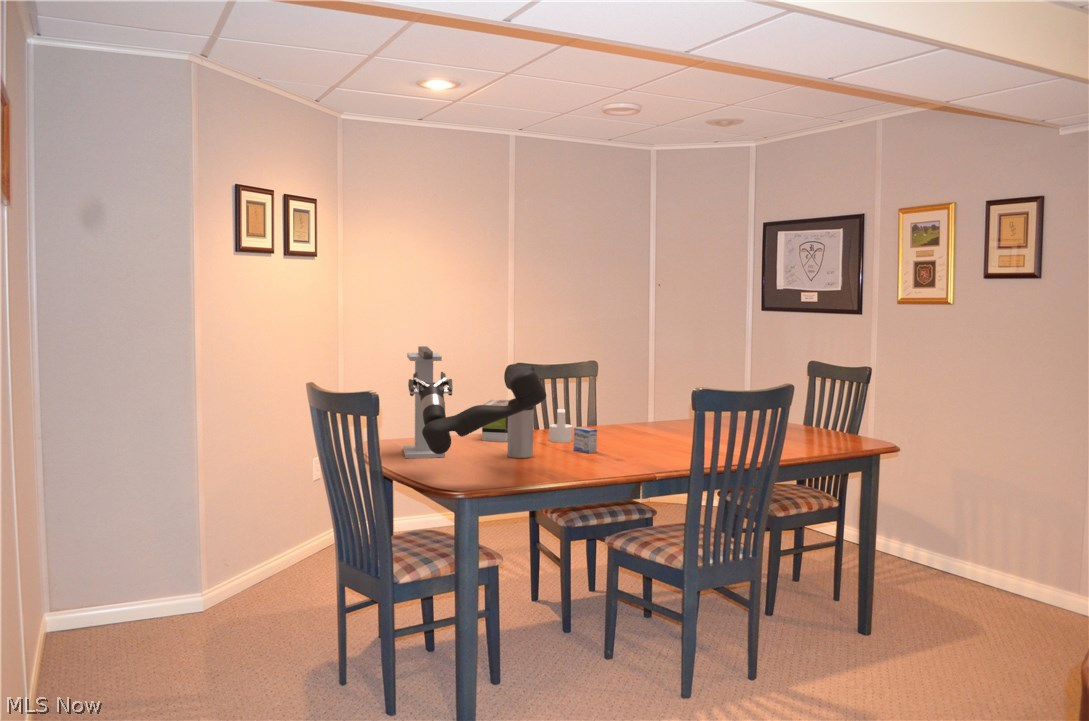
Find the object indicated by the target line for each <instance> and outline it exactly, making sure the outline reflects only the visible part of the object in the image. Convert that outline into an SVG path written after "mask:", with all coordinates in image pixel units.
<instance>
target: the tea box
mask: <svg viewBox="0 0 1089 721" xmlns="http://www.w3.org/2000/svg"><path fill="white" fill-rule="evenodd" d="M510 400H511V399H491V400H489V401H487V402H485V403H484V404H482V405H490V406H508V402H509V401H510ZM481 437H482V438H481V440H482V441H483V442H495V441H498V442H499V443H504V442H508V417H506V418H504V419H501V420H498V421H495V422H493V423H490V424H488V425H486V426H483V427H481Z"/></svg>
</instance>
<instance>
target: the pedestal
mask: <svg viewBox="0 0 1089 721" xmlns="http://www.w3.org/2000/svg"><path fill="white" fill-rule="evenodd" d="M406 356H407V358H408V360H409V361H410V362H414V373H415V372H418V379H419V380H420V381H421V380H422V381H423V382H425V383H433V382H434V362H442V361H443V359H442V355H441V354H440V353H438V352H433V359H423V358H422V357H421V356H420V355H419V353H418V352H407V355H406ZM414 387H415V386H414ZM415 388H416V389H417V390H418V388H417V387H415ZM424 426H425V424H424V420H423V413H422V409H421V400H420V395H419V394H414V445H403V446H402V451H404V452H403V455H404V458H409V459H436V458H437V459H439V458H438V457H445V458H446V452H445V453H443V454H436V453H433V452H432V451H431V450H430V448H429V446H428V444H427V443H426V441H425V439H424V437H423V434H422V430H423V428H424Z"/></svg>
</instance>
